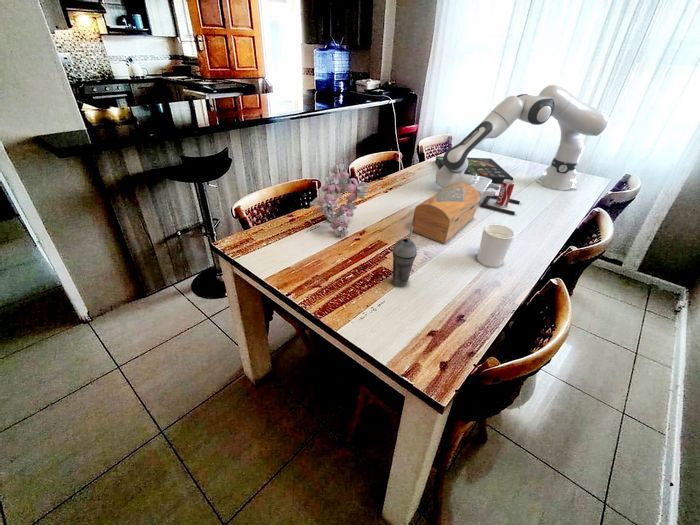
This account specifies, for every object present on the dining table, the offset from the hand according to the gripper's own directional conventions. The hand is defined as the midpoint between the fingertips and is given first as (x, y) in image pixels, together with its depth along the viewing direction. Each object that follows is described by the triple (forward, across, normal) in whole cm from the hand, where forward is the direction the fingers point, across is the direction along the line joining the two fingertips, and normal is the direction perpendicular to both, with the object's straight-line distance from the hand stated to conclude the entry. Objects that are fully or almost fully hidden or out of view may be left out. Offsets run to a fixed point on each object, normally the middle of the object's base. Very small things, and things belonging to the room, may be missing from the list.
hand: (497, 191), depth 153 cm
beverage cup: (-12, -83, +7) cm, 84 cm away
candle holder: (+10, -53, +7) cm, 54 cm away
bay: (+3, 0, +6) cm, 7 cm away
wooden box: (-13, -36, +7) cm, 39 cm away
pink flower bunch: (-46, -65, +7) cm, 80 cm away
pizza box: (-21, +39, +6) cm, 45 cm away
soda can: (+4, 0, +6) cm, 7 cm away
